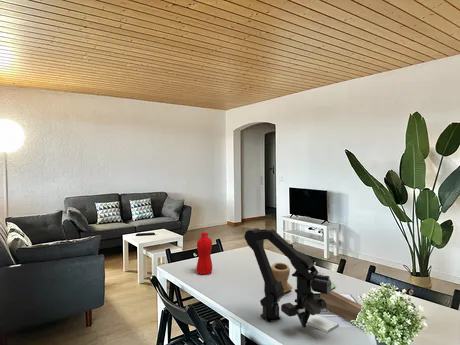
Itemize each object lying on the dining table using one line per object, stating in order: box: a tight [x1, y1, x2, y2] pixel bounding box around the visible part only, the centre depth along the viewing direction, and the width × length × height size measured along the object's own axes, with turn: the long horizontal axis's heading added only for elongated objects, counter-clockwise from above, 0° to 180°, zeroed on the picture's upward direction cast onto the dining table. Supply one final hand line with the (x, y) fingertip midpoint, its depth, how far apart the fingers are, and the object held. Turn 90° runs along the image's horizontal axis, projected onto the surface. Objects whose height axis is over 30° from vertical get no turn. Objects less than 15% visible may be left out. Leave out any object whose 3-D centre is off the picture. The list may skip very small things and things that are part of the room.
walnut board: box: [319, 289, 363, 323], centre depth 132 cm, size 3×26×8 cm, turn 26°
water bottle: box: [196, 232, 213, 276], centre depth 188 cm, size 9×11×25 cm
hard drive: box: [306, 314, 340, 334], centre depth 126 cm, size 2×8×12 cm
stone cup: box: [270, 262, 293, 294], centre depth 159 cm, size 15×12×15 cm
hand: (303, 326), depth 123 cm, fingers closed
